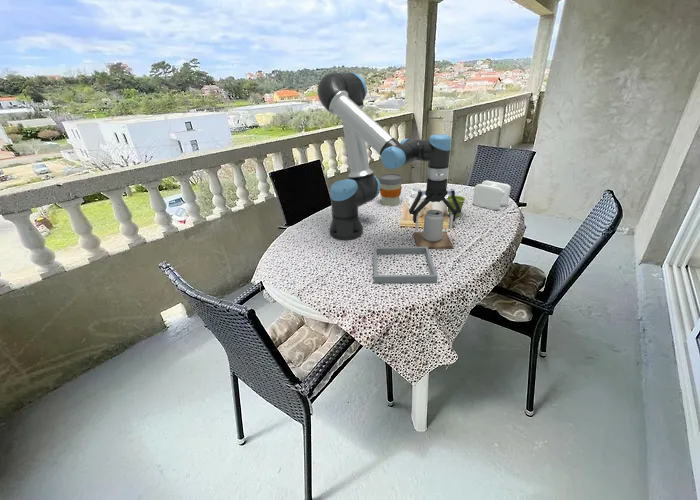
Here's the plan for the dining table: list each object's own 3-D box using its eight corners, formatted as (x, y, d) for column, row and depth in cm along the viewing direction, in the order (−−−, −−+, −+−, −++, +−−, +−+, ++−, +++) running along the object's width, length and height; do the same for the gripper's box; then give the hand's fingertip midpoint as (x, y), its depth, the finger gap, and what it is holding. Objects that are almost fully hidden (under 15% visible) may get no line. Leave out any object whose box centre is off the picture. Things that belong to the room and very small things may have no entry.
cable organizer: (470, 204, 166) (473, 183, 160) (481, 199, 172) (484, 179, 166) (497, 211, 155) (501, 189, 150) (508, 206, 161) (512, 184, 156)
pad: (417, 249, 126) (417, 246, 125) (413, 234, 138) (413, 232, 137) (452, 248, 125) (453, 246, 124) (445, 233, 137) (445, 231, 136)
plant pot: (448, 210, 160) (449, 194, 156) (466, 214, 155) (468, 197, 151) (440, 216, 154) (441, 199, 150) (458, 220, 149) (460, 203, 145)
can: (441, 243, 127) (444, 215, 121) (423, 242, 128) (424, 215, 123) (441, 235, 133) (443, 208, 127) (423, 234, 135) (424, 208, 129)
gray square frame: (374, 283, 106) (374, 276, 105) (374, 253, 125) (373, 247, 124) (437, 282, 105) (437, 276, 104) (427, 252, 123) (427, 246, 122)
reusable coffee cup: (405, 201, 176) (406, 174, 169) (395, 208, 167) (396, 180, 160) (385, 198, 182) (385, 172, 175) (375, 205, 173) (374, 178, 166)
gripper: (405, 181, 116) (403, 233, 126) (473, 179, 114) (466, 232, 124) (403, 176, 123) (401, 225, 133) (468, 174, 121) (461, 224, 131)
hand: (433, 228), depth 129 cm, fingers open, 13 cm apart
